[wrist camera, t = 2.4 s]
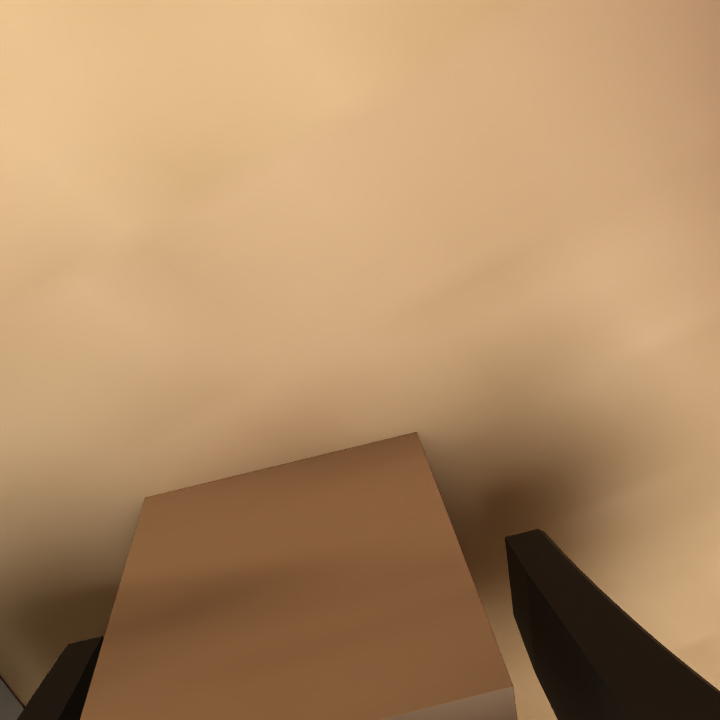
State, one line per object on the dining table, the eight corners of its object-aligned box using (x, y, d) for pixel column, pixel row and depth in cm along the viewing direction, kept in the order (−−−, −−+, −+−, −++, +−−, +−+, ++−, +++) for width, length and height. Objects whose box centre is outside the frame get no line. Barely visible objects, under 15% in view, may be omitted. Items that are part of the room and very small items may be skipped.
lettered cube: (450, 612, 13) (541, 901, 9) (228, 667, 13) (205, 990, 9) (415, 429, 11) (516, 694, 6) (146, 494, 11) (52, 813, 6)
